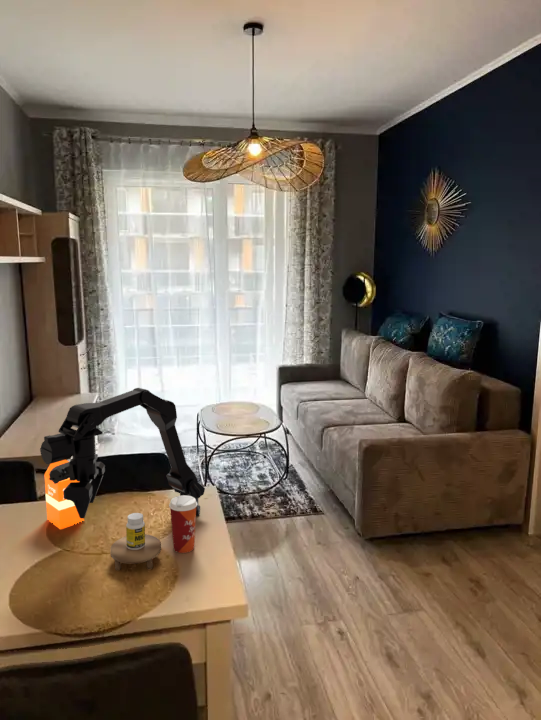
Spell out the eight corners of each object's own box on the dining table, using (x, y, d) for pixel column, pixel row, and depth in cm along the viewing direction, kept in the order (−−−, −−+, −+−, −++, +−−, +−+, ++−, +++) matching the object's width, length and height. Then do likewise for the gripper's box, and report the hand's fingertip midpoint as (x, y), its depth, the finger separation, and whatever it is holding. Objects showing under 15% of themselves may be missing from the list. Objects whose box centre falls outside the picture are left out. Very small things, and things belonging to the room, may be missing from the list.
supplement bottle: (135, 552, 142) (134, 521, 141) (122, 547, 145) (121, 517, 143) (149, 544, 146) (148, 514, 145) (136, 539, 149) (135, 510, 147)
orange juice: (71, 511, 173) (67, 451, 170) (84, 521, 167) (81, 458, 164) (46, 519, 168) (42, 457, 164) (59, 529, 162) (56, 465, 158)
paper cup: (192, 556, 148) (191, 507, 146) (165, 553, 150) (164, 504, 147) (201, 542, 156) (201, 495, 153) (176, 539, 157) (175, 493, 155)
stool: (116, 548, 152) (115, 534, 151) (164, 547, 153) (163, 533, 152) (106, 574, 139) (105, 560, 138) (158, 573, 140) (158, 558, 139)
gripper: (62, 442, 151) (65, 496, 154) (40, 467, 133) (43, 527, 136) (104, 441, 152) (106, 495, 155) (87, 466, 134) (90, 526, 137)
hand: (86, 510), depth 146 cm, fingers open, 9 cm apart
